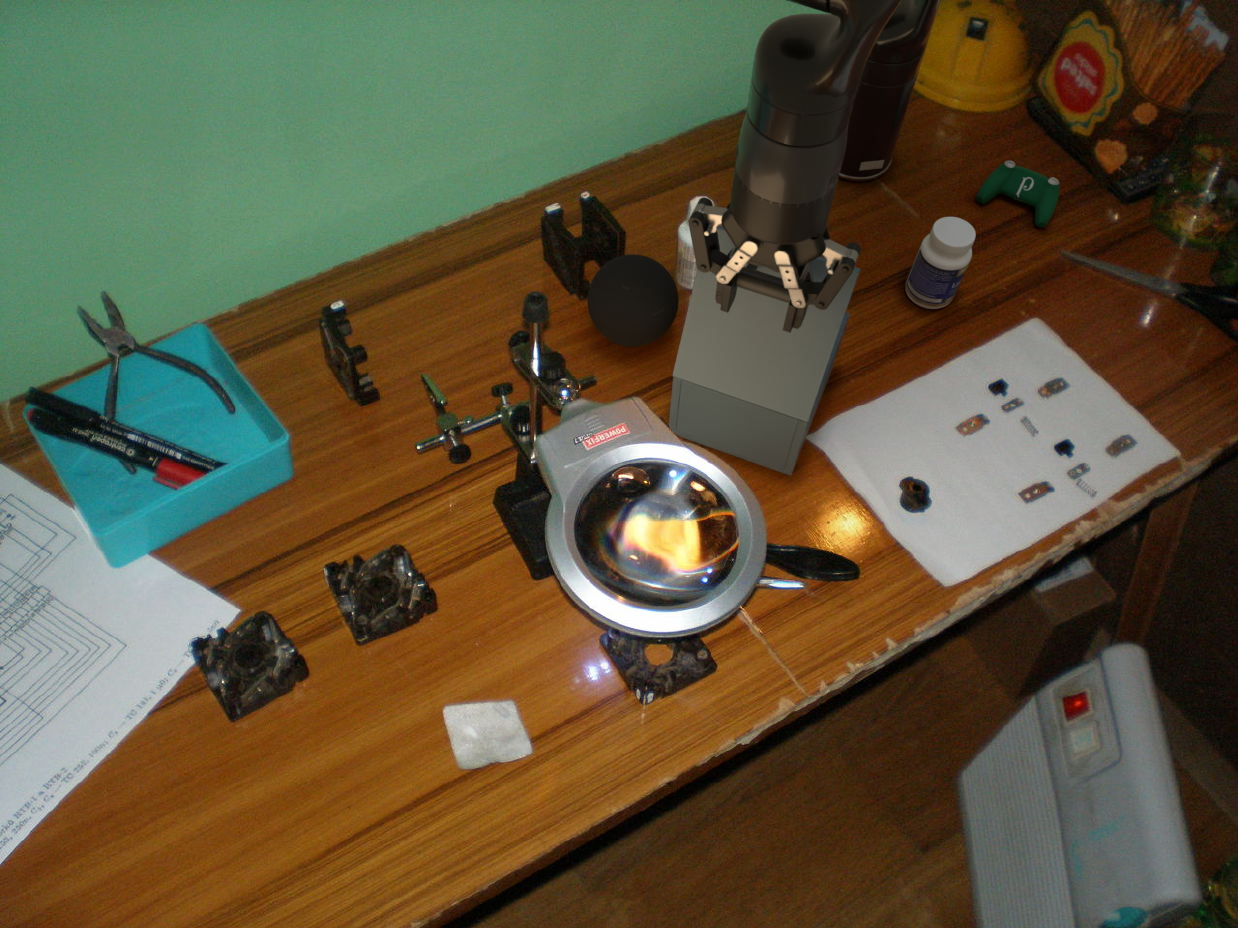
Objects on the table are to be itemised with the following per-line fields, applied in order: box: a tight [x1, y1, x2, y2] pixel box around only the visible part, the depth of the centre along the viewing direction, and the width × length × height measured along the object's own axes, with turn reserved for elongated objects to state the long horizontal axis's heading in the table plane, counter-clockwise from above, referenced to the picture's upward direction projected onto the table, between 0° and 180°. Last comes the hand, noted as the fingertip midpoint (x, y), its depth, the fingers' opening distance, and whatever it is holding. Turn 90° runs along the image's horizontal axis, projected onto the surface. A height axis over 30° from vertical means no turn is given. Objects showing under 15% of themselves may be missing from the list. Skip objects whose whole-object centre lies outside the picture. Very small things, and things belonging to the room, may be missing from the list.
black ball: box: [586, 253, 680, 348], centre depth 108 cm, size 10×10×10 cm
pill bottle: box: [904, 216, 977, 310], centre depth 111 cm, size 6×6×10 cm
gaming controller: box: [975, 160, 1061, 229], centre depth 122 cm, size 9×4×6 cm
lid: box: [672, 224, 861, 422], centre depth 88 cm, size 16×14×5 cm
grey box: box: [668, 312, 851, 477], centre depth 103 cm, size 15×14×10 cm
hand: (758, 314), depth 85 cm, fingers closed on lid, 5 cm apart
